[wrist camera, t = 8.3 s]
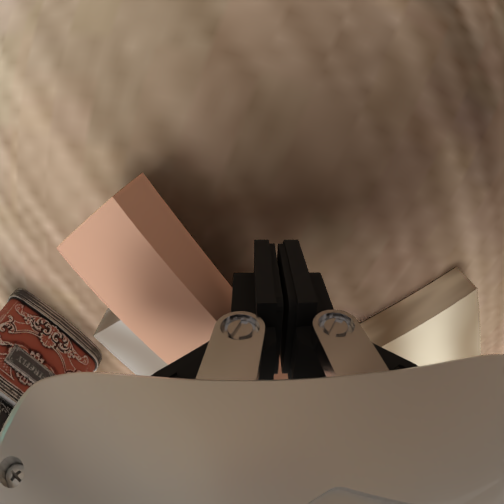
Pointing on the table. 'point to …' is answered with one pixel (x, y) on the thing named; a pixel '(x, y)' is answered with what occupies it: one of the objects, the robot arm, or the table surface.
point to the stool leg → (150, 271)
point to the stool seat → (377, 328)
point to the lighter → (37, 348)
